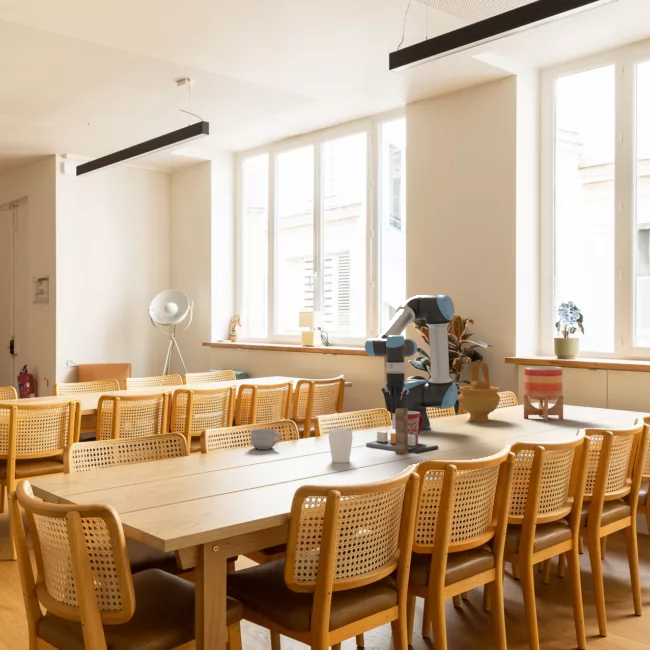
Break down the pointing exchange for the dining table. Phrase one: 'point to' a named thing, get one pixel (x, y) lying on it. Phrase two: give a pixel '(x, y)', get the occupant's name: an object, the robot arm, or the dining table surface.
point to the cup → (340, 444)
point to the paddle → (382, 436)
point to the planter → (543, 390)
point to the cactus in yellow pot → (479, 395)
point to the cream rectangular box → (411, 440)
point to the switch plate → (392, 445)
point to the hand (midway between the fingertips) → (395, 428)
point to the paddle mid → (393, 438)
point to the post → (401, 430)
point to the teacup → (264, 438)
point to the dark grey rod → (426, 449)
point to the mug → (414, 424)
